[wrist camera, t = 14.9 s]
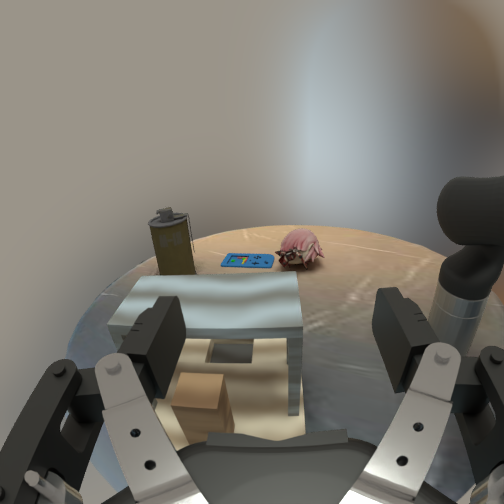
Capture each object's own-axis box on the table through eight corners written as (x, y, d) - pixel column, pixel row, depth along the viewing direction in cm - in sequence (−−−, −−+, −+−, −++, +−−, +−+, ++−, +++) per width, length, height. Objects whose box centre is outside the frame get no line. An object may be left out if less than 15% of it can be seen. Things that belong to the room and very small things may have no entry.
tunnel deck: (178, 337, 59) (157, 251, 51) (296, 336, 57) (296, 244, 49) (135, 453, 34) (75, 362, 26) (305, 466, 31) (317, 376, 23)
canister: (161, 289, 77) (145, 218, 69) (160, 272, 87) (146, 208, 78) (200, 282, 80) (188, 210, 72) (195, 265, 89) (185, 201, 81)
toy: (317, 280, 73) (334, 253, 84) (304, 241, 70) (323, 218, 81) (277, 284, 81) (299, 258, 92) (263, 248, 78) (287, 226, 89)
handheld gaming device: (271, 265, 84) (219, 264, 87) (271, 269, 84) (220, 267, 88) (275, 253, 91) (227, 252, 95) (275, 256, 92) (228, 255, 95)
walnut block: (199, 423, 36) (181, 372, 32) (234, 425, 36) (223, 374, 31) (193, 451, 32) (170, 405, 27) (231, 454, 31) (217, 408, 27)
